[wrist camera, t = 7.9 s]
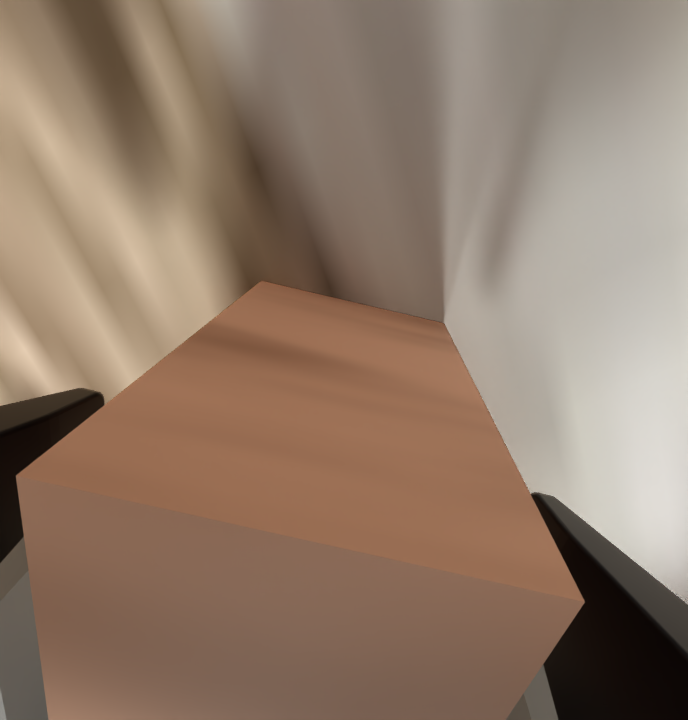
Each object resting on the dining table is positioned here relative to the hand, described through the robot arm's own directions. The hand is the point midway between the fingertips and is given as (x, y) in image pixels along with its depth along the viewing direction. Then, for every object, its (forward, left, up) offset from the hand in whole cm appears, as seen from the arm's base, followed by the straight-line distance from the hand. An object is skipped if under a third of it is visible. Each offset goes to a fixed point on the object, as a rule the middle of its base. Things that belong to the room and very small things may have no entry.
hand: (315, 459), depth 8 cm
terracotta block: (0, 0, -4) cm, 4 cm away
